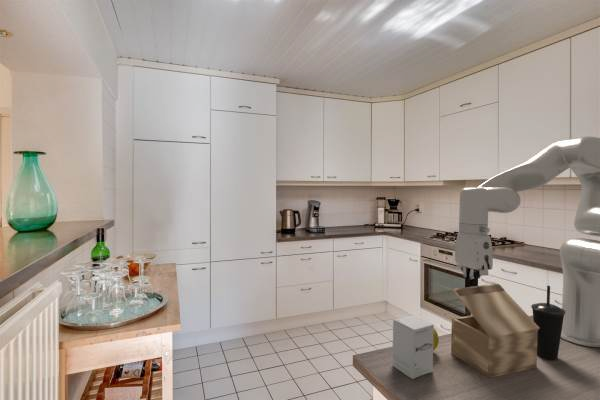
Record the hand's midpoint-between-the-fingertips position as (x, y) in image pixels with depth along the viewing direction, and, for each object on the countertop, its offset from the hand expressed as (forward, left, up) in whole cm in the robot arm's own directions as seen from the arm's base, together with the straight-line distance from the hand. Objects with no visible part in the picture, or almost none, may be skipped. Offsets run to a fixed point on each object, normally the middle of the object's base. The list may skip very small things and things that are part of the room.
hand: (471, 291), depth 96 cm
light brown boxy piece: (0, +8, -17) cm, 18 cm away
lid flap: (0, +8, -3) cm, 8 cm away
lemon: (+14, -1, -17) cm, 22 cm away
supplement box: (+24, +5, -17) cm, 30 cm away
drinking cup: (-16, +11, -17) cm, 26 cm away
